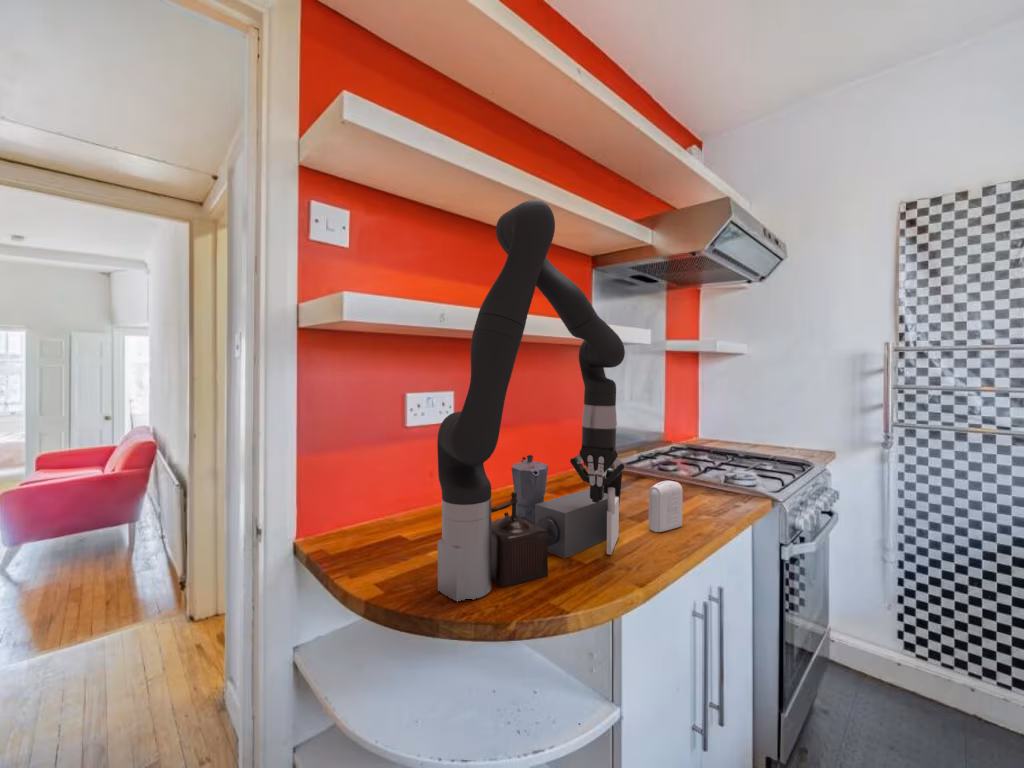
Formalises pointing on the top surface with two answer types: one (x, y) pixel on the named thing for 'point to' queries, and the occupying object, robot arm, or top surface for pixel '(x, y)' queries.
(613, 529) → the side door
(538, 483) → the moka pot
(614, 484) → the drinking cup
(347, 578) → the top surface
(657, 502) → the photo printer
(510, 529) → the coffee grinder
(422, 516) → the top surface
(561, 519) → the camera housing
